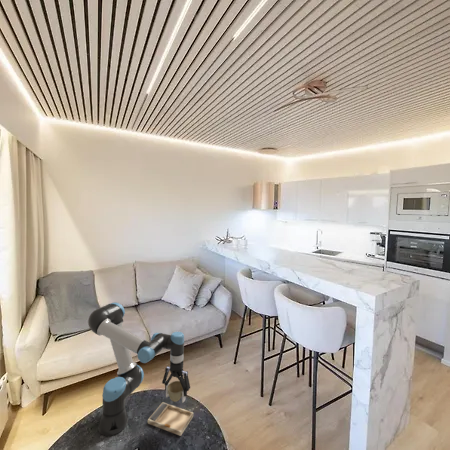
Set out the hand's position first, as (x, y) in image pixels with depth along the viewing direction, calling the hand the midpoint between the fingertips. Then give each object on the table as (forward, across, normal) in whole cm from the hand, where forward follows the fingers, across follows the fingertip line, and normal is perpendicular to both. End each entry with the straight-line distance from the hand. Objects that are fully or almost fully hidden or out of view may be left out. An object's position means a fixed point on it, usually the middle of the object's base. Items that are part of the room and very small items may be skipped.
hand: (175, 398), depth 141 cm
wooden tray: (+13, -3, 0) cm, 14 cm away
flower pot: (0, 0, 0) cm, 0 cm away
